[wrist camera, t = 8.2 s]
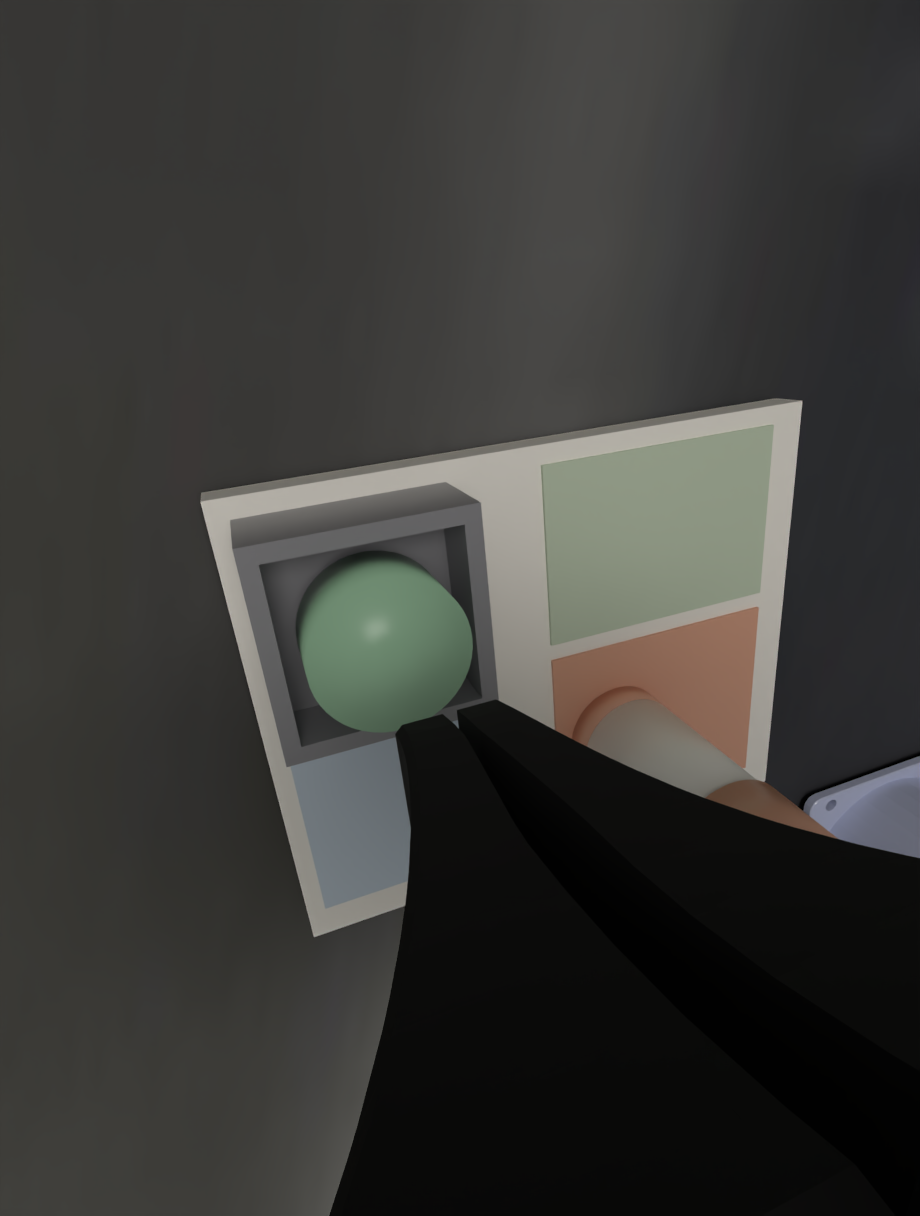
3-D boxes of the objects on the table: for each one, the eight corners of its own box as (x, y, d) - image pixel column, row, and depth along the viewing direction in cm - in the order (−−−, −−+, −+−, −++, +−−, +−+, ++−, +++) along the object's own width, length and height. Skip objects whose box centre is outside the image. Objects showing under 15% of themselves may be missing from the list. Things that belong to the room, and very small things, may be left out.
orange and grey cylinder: (662, 672, 20) (861, 816, 14) (660, 760, 21) (841, 927, 15) (567, 698, 19) (733, 864, 13) (571, 788, 21) (723, 977, 14)
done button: (437, 536, 15) (464, 559, 13) (453, 672, 16) (479, 708, 14) (280, 568, 14) (288, 597, 12) (311, 708, 15) (323, 751, 13)
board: (775, 398, 19) (805, 400, 18) (745, 765, 24) (767, 782, 23) (201, 492, 15) (200, 502, 14) (309, 911, 20) (314, 939, 19)
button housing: (445, 481, 16) (480, 502, 14) (465, 666, 18) (499, 708, 16) (229, 520, 15) (232, 549, 12) (277, 714, 17) (286, 767, 14)
